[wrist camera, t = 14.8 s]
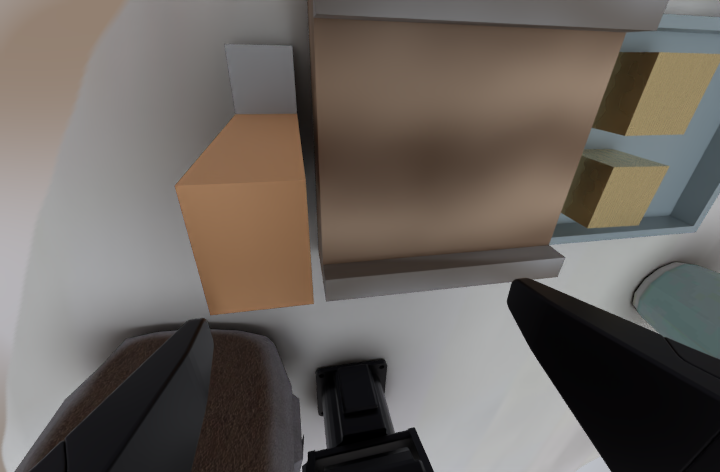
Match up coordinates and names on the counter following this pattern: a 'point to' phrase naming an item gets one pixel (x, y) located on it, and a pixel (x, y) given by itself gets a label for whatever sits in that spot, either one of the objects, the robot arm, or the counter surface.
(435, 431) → the counter surface
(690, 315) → the disposable coffee cup
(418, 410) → the counter surface
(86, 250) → the counter surface
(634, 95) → the brass block
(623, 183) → the brass block
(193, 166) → the brown and grey block
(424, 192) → the railed tan board
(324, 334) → the counter surface
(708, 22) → the slate tray
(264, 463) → the dark brown rounded block
